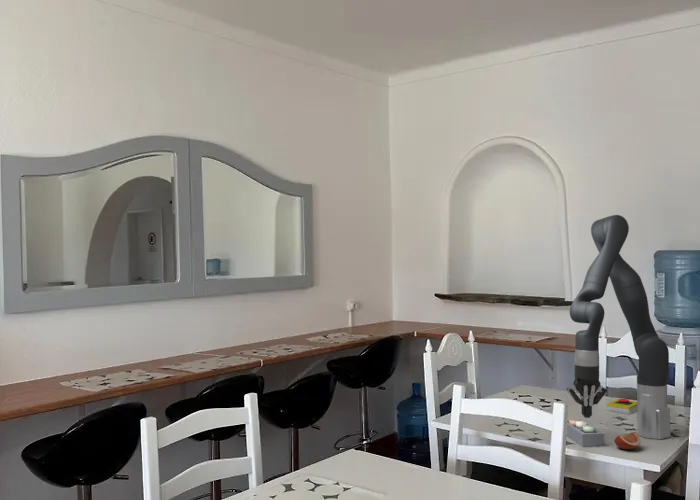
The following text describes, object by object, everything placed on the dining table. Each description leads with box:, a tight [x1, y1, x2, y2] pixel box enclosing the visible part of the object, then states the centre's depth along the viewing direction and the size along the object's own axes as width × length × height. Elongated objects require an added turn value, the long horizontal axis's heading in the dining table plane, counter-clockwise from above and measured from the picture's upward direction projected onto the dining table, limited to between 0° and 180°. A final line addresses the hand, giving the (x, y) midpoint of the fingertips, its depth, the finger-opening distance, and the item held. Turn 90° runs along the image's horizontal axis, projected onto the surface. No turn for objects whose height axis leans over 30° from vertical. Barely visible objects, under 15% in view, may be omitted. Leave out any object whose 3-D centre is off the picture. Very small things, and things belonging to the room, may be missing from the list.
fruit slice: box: [613, 431, 641, 450], centre depth 209 cm, size 8×7×5 cm
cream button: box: [576, 420, 588, 429], centre depth 221 cm, size 3×3×2 cm
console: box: [566, 419, 605, 448], centre depth 221 cm, size 18×7×4 cm, turn 5°
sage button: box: [583, 424, 595, 433], centre depth 216 cm, size 3×3×2 cm
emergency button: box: [603, 398, 637, 417], centre depth 259 cm, size 9×4×15 cm
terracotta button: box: [568, 419, 580, 424], centre depth 227 cm, size 3×3×2 cm
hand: (586, 417), depth 216 cm, fingers closed
